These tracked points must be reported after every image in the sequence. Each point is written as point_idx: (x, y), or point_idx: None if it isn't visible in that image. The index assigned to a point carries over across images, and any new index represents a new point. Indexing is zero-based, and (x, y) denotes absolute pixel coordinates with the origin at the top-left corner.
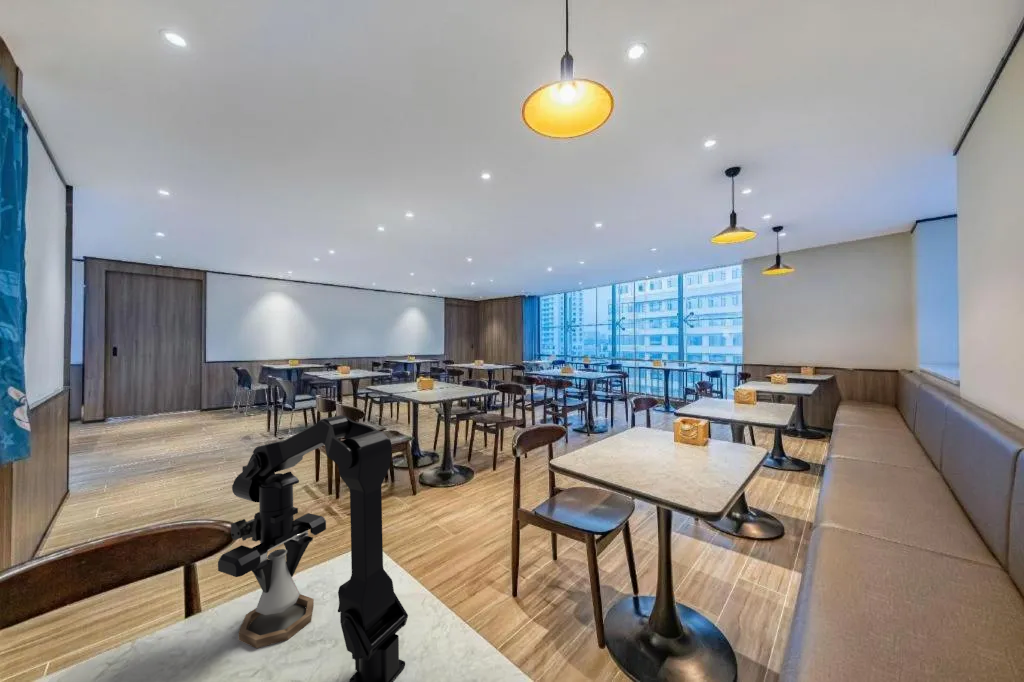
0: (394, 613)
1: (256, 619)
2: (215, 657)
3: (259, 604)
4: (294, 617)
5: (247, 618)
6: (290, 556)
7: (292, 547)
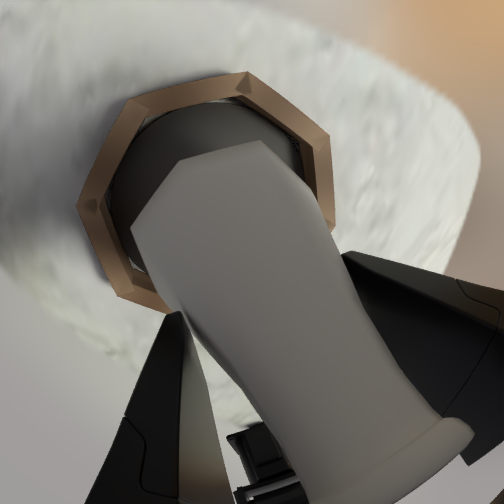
0: None
1: (161, 128)
2: (22, 226)
3: (145, 256)
4: None
5: (123, 134)
6: (441, 357)
7: (488, 408)
